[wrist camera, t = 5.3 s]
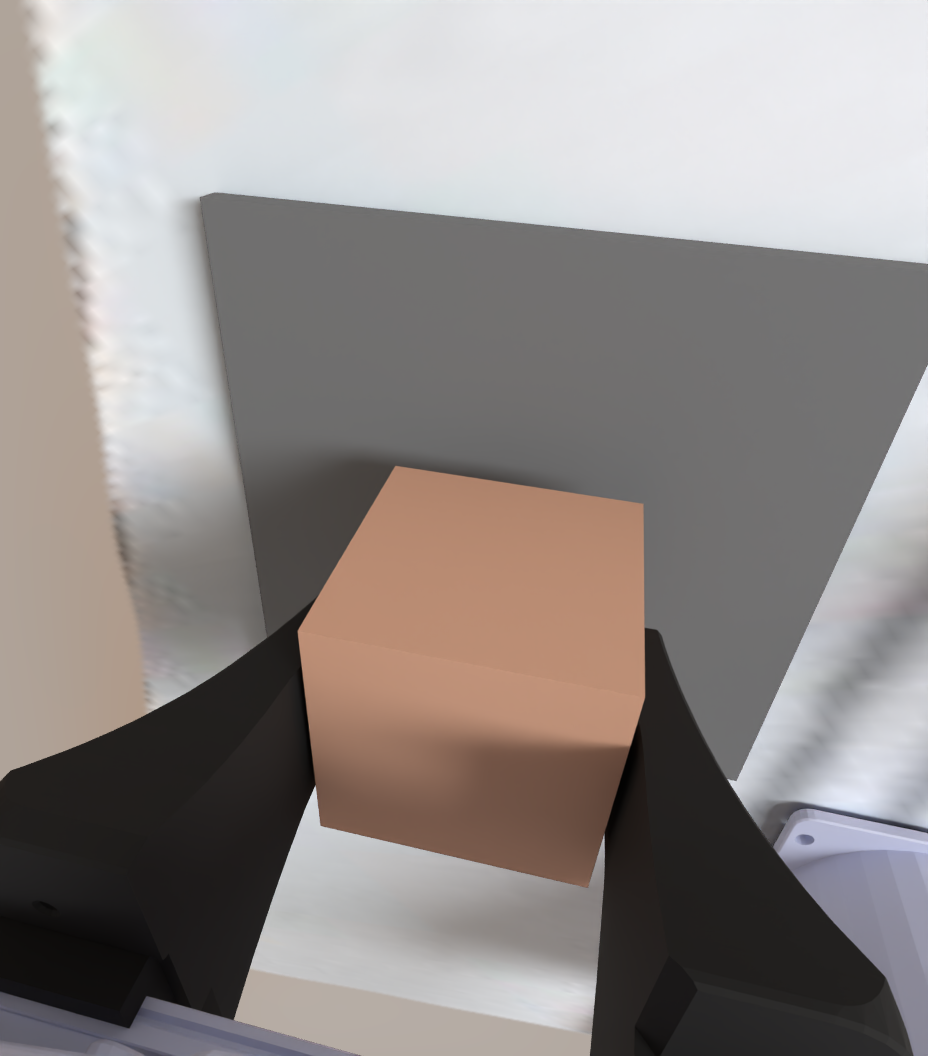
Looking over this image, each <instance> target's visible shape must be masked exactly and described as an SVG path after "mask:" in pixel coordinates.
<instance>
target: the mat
mask: <svg viewBox="0 0 928 1056" xmlns="http://www.w3.org/2000/svg"><path fill="white" fill-rule="evenodd" d="M200 201H201V207H202V214H203V220H204V227H205V233H206V240H207V246H208V253H209V260H210V266H211V273H212V279H213V286H214V292H215V299H216V305H217V312H218V318H219V325H220V331H221V338H222V345H223V351H224V358H225V364H226V371H227V377H228V384H229V390H230V397H231V403H232V410H233V416H234V423H235V430H236V436H237V443H238V449H239V456H240V462H241V469H242V475H243V482H244V488H245V495H246V501H247V508H248V515H249V521H250V528H251V534H252V541H253V547H254V554H255V560H256V567H257V573H258V580H259V586H260V593H261V600H262V606H263V613H264V619H265V626H266V632H267V638H268V637H269V636H270V635H271V634H273V633H274V632H275V631H276V630H278V629H279V628H280V627H281V626H282V625H284V624H285V623H286V622H287V621H289V620H290V619H291V618H292V617H294V616H295V615H296V614H297V613H298V612H299V611H301V610H302V609H303V608H304V607H305V606H306V605H308V604H309V603H310V602H311V601H312V600H313V599H315V598H316V597H317V596H318V595H319V594H320V592H321V591H322V589H323V587H324V586H325V584H326V582H327V580H328V579H329V577H330V575H331V574H332V572H333V570H334V569H335V567H336V565H337V564H338V562H339V560H340V559H341V557H342V555H343V553H344V552H345V550H346V548H347V547H348V545H349V543H350V542H351V540H352V538H353V537H354V535H355V533H356V532H357V530H358V528H359V526H360V525H361V523H362V521H363V520H364V518H365V516H366V515H367V513H368V511H369V510H370V508H371V506H372V505H373V503H374V501H375V499H376V498H377V496H378V494H379V493H380V491H381V489H382V488H383V486H384V484H385V483H386V481H387V479H388V478H389V476H390V474H391V472H392V471H393V469H394V467H395V466H400V467H407V468H413V469H420V470H426V471H433V472H439V473H446V474H452V475H459V476H465V477H472V478H478V479H485V480H491V481H498V482H504V483H511V484H517V485H524V486H530V487H537V488H544V489H550V490H557V491H563V492H570V493H576V494H583V495H589V496H596V497H602V498H609V499H615V500H622V501H628V502H635V503H641V504H643V511H644V628H650V629H656V630H658V631H659V632H660V634H661V635H662V638H663V641H664V644H665V648H666V651H667V654H668V656H669V659H670V662H671V665H672V667H673V670H674V672H675V675H676V677H677V680H678V682H679V685H680V687H681V690H682V692H683V694H684V697H685V699H686V701H687V703H688V705H689V707H690V710H691V712H692V714H693V716H694V718H695V720H696V722H697V725H698V727H699V729H700V731H701V733H702V735H703V737H704V738H705V740H706V742H707V744H708V746H709V748H710V750H711V752H712V753H713V755H714V757H715V759H716V761H717V763H718V764H719V766H720V768H721V770H722V771H723V773H724V775H725V777H726V778H727V779H730V780H735V781H737V778H738V776H739V774H740V772H741V770H742V768H743V765H744V763H745V761H746V759H747V757H748V754H749V752H750V750H751V748H752V746H753V744H754V741H755V739H756V737H757V735H758V733H759V731H760V728H761V726H762V724H763V722H764V720H765V718H766V715H767V713H768V711H769V709H770V707H771V704H772V702H773V700H774V698H775V696H776V694H777V691H778V689H779V687H780V685H781V683H782V681H783V678H784V676H785V674H786V672H787V670H788V667H789V665H790V663H791V661H792V659H793V657H794V654H795V652H796V650H797V648H798V646H799V644H800V641H801V639H802V637H803V635H804V633H805V631H806V628H807V626H808V624H809V622H810V620H811V617H812V615H813V613H814V611H815V609H816V607H817V604H818V602H819V600H820V598H821V596H822V594H823V591H824V589H825V587H826V585H827V583H828V580H829V578H830V576H831V574H832V572H833V570H834V567H835V565H836V563H837V561H838V559H839V557H840V554H841V552H842V550H843V548H844V546H845V543H846V541H847V539H848V537H849V535H850V533H851V530H852V528H853V526H854V524H855V522H856V520H857V517H858V515H859V513H860V511H861V509H862V507H863V504H864V502H865V500H866V498H867V496H868V493H869V491H870V489H871V487H872V485H873V483H874V480H875V478H876V476H877V474H878V472H879V470H880V467H881V465H882V463H883V461H884V459H885V456H886V454H887V452H888V450H889V448H890V446H891V443H892V441H893V439H894V437H895V435H896V433H897V430H898V428H899V426H900V424H901V422H902V419H903V417H904V415H905V413H906V411H907V409H908V406H909V404H910V402H911V400H912V398H913V396H914V393H915V391H916V389H917V387H918V385H919V383H920V380H921V378H922V376H923V374H924V372H925V369H926V367H927V365H928V264H923V263H913V262H903V261H893V260H883V259H873V258H863V257H853V256H843V255H833V254H823V253H813V252H803V251H793V250H783V249H773V248H763V247H753V246H743V245H733V244H723V243H713V242H703V241H693V240H684V239H674V238H664V237H654V236H644V235H634V234H624V233H614V232H604V231H594V230H584V229H574V228H564V227H554V226H544V225H534V224H524V223H514V222H504V221H494V220H484V219H474V218H464V217H454V216H444V215H434V214H424V213H414V212H405V211H395V210H385V209H375V208H365V207H355V206H345V205H335V204H325V203H315V202H305V201H295V200H285V199H275V198H265V197H255V196H245V195H235V194H225V193H212V194H209V195H206V196H203V197H200Z"/></svg>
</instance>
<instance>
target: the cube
mask: <svg viewBox="0 0 928 1056" xmlns="http://www.w3.org/2000/svg"><path fill="white" fill-rule="evenodd" d="M298 639H299V647H300V656H301V664H302V672H303V681H304V689H305V698H306V706H307V715H308V723H309V732H310V740H311V749H312V757H313V766H314V774H315V783H316V791H317V800H318V808H319V816H320V825H321V826H324V827H328V828H332V829H337V830H341V831H345V832H349V833H354V834H358V835H362V836H367V837H371V838H375V839H380V840H384V841H388V842H393V843H397V844H401V845H405V846H410V847H414V848H418V849H423V850H427V851H431V852H436V853H440V854H444V855H449V856H453V857H457V858H461V859H466V860H470V861H474V862H479V863H483V864H487V865H492V866H496V867H500V868H505V869H509V870H513V871H517V872H522V873H526V874H530V875H535V876H539V877H543V878H548V879H552V880H556V881H561V882H565V883H569V884H574V885H578V886H582V887H586V888H588V886H589V882H590V879H591V876H592V872H593V869H594V866H595V862H596V859H597V856H598V852H599V849H600V846H601V842H602V839H603V836H604V832H605V829H606V826H607V822H608V819H609V816H610V812H611V809H612V806H613V802H614V799H615V796H616V792H617V789H618V786H619V783H620V779H621V776H622V773H623V769H624V766H625V763H626V759H627V756H628V753H629V749H630V746H631V743H632V739H633V736H634V733H635V729H636V726H637V723H638V719H639V716H640V713H641V709H642V706H643V703H644V699H645V630H644V511H643V504H641V503H635V502H628V501H622V500H615V499H609V498H602V497H596V496H589V495H583V494H576V493H570V492H563V491H557V490H550V489H544V488H537V487H530V486H524V485H517V484H511V483H504V482H498V481H491V480H485V479H478V478H472V477H465V476H459V475H452V474H446V473H439V472H433V471H426V470H420V469H413V468H407V467H400V466H395V467H394V469H393V471H392V472H391V474H390V476H389V478H388V479H387V481H386V483H385V484H384V486H383V488H382V489H381V491H380V493H379V494H378V496H377V498H376V499H375V501H374V503H373V505H372V506H371V508H370V510H369V511H368V513H367V515H366V516H365V518H364V520H363V521H362V523H361V525H360V526H359V528H358V530H357V532H356V533H355V535H354V537H353V538H352V540H351V542H350V543H349V545H348V547H347V548H346V550H345V552H344V553H343V555H342V557H341V559H340V560H339V562H338V564H337V565H336V567H335V569H334V570H333V572H332V574H331V575H330V577H329V579H328V580H327V582H326V584H325V586H324V587H323V589H322V591H321V592H320V594H319V596H318V597H317V599H316V601H315V602H314V604H313V606H312V607H311V609H310V611H309V613H308V614H307V616H306V618H305V619H304V621H303V623H302V624H301V626H300V628H299V629H298Z"/></svg>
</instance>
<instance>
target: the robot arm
mask: <svg viewBox="0 0 928 1056" xmlns="http://www.w3.org/2000/svg"><path fill="white" fill-rule="evenodd" d="M318 596H319V595H318ZM318 596H317V597H318ZM317 597H316V598H315V599H313V600H312V601H311V602H310V603H309V604H308V605H306V606H305V607H304V608H303V609H302V610H301V611H299V612H298V613H297V614H296V615H295V616H294V617H292V618H291V619H290V620H289V621H287V622H286V623H285V624H284V625H282V626H281V627H280V628H279V629H278V630H276V631H275V632H274V633H273V634H271V635H270V636H269V637H268V638H266V639H265V640H264V641H262V642H261V643H260V644H258V645H257V646H256V647H254V648H253V649H252V650H250V651H249V652H247V653H246V654H245V655H243V656H242V657H241V658H239V659H238V660H237V661H235V662H234V663H232V664H231V665H230V666H228V667H227V668H225V669H224V670H222V671H221V672H219V673H218V674H216V675H215V676H213V677H212V678H210V679H208V680H207V681H205V682H204V683H202V684H200V685H199V686H197V687H196V688H194V689H192V690H191V691H189V692H187V693H186V694H184V695H182V696H180V697H178V698H177V699H175V700H173V701H171V702H169V703H167V704H165V705H164V706H162V707H160V708H158V709H156V710H154V711H152V712H150V713H148V714H147V715H145V716H143V717H141V718H139V719H137V720H135V721H133V722H131V723H129V724H126V725H124V726H122V727H120V728H118V729H116V730H114V731H111V732H109V733H107V734H105V735H102V736H100V737H98V738H95V739H93V740H91V741H88V742H86V743H84V744H81V745H79V746H76V747H74V748H71V749H69V750H66V751H63V752H61V753H58V754H56V755H53V756H50V757H47V758H45V759H42V760H39V761H36V762H34V763H31V764H28V765H26V766H23V767H20V768H17V769H14V770H11V771H10V772H9V773H8V774H7V775H6V776H5V777H4V778H3V779H2V780H1V781H0V1056H360V1055H357V1054H353V1053H350V1052H346V1051H342V1050H339V1049H335V1048H332V1047H328V1046H324V1045H321V1044H317V1043H314V1042H310V1041H306V1040H303V1039H299V1038H296V1037H292V1036H289V1035H285V1034H281V1033H277V1032H274V1031H271V1030H267V1029H263V1028H259V1027H256V1026H252V1025H249V1024H245V1023H242V1022H238V1021H235V1020H234V1017H235V1014H236V1010H237V1007H238V1004H239V1000H240V998H241V994H242V991H243V987H244V985H245V981H246V978H247V975H248V972H249V969H250V965H251V962H252V959H253V956H254V953H255V950H256V947H257V944H258V941H259V938H260V935H261V932H262V929H263V926H264V923H265V920H266V917H267V914H268V911H269V908H270V905H271V902H272V899H273V896H274V893H275V890H276V887H277V884H278V882H279V879H280V876H281V873H282V870H283V867H284V865H285V862H286V859H287V856H288V853H289V851H290V848H291V845H292V843H293V840H294V837H295V834H296V832H297V829H298V826H299V824H300V821H301V818H302V816H303V813H304V810H305V808H306V805H307V803H308V801H309V799H310V796H311V794H312V792H313V789H314V787H315V785H316V783H315V774H314V766H313V757H312V749H311V740H310V732H309V723H308V715H307V706H306V698H305V689H304V681H303V672H302V664H301V656H300V647H299V639H298V629H299V628H300V626H301V624H302V623H303V621H304V619H305V618H306V616H307V614H308V613H309V611H310V609H311V607H312V606H313V604H314V602H315V601H316V599H317ZM644 630H645V699H644V703H643V706H642V709H641V713H640V716H639V719H638V723H637V726H636V729H635V733H634V736H633V739H632V743H631V746H630V749H629V753H628V756H627V759H626V763H625V766H624V769H623V773H622V776H621V779H620V783H619V786H618V789H617V792H616V796H615V799H614V802H613V806H612V809H611V812H610V816H609V819H608V822H607V826H606V829H605V832H604V834H605V877H604V891H603V905H602V919H601V932H600V945H599V958H598V970H597V983H596V994H595V1005H594V1016H593V1028H592V1039H591V1050H590V1056H928V833H925V832H920V831H915V830H911V829H906V828H901V827H896V826H891V825H887V824H882V823H877V822H872V821H867V820H863V819H858V818H853V817H848V816H843V815H839V814H834V813H829V812H824V811H819V810H815V809H800V810H798V811H795V812H794V813H793V814H792V815H791V816H790V818H789V819H788V821H787V823H786V825H785V826H784V828H783V830H782V832H781V834H780V835H779V837H778V839H777V841H776V842H775V844H774V846H773V847H772V846H771V844H770V843H769V842H768V840H767V839H766V838H765V836H764V835H763V833H762V832H761V830H760V829H759V827H758V826H757V825H756V823H755V822H754V820H753V819H752V817H751V816H750V814H749V813H748V812H747V810H746V808H745V807H744V805H743V804H742V802H741V801H740V799H739V798H738V796H737V794H736V793H735V791H734V790H733V788H732V787H731V785H730V783H729V782H728V780H727V778H726V777H725V775H724V773H723V771H722V770H721V768H720V766H719V764H718V763H717V761H716V759H715V757H714V755H713V753H712V752H711V750H710V748H709V746H708V744H707V742H706V740H705V738H704V737H703V735H702V733H701V731H700V729H699V727H698V725H697V722H696V720H695V718H694V716H693V714H692V712H691V710H690V707H689V705H688V703H687V701H686V699H685V697H684V694H683V692H682V690H681V687H680V685H679V682H678V680H677V677H676V675H675V672H674V670H673V667H672V665H671V662H670V659H669V656H668V654H667V651H666V648H665V644H664V641H663V638H662V635H661V634H660V632H659V631H658V630H656V629H650V628H644Z"/></svg>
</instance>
